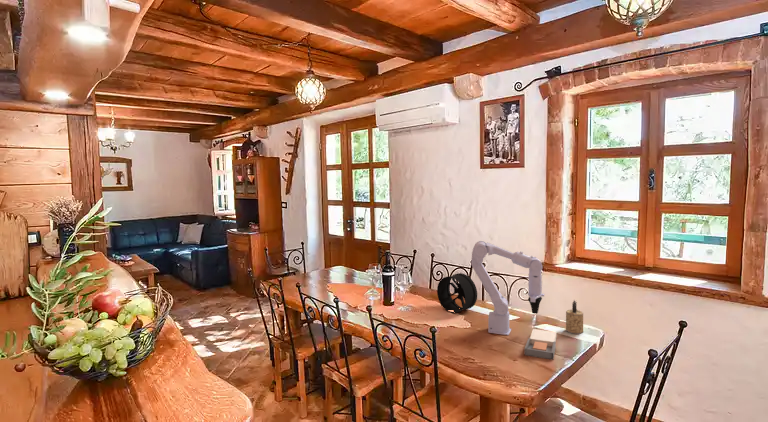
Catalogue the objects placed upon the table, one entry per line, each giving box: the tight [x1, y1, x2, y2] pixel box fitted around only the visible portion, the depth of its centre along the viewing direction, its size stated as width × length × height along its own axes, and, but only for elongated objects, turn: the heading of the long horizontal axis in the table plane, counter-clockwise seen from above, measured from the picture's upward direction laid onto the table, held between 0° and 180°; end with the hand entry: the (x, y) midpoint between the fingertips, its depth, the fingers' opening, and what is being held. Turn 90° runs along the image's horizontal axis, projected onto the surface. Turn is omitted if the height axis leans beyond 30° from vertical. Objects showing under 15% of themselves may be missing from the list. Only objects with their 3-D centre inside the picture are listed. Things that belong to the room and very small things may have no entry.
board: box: [529, 328, 558, 347], centre depth 182 cm, size 10×12×2 cm
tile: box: [533, 342, 547, 351], centre depth 172 cm, size 5×7×2 cm
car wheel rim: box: [436, 272, 478, 314], centre depth 225 cm, size 20×10×20 cm, turn 40°
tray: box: [523, 337, 557, 361], centre depth 171 cm, size 11×12×3 cm
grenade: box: [565, 299, 584, 335], centre depth 191 cm, size 8×7×15 cm
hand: (535, 312), depth 189 cm, fingers closed
